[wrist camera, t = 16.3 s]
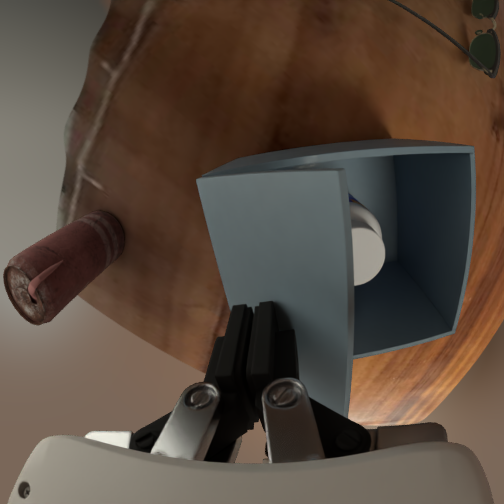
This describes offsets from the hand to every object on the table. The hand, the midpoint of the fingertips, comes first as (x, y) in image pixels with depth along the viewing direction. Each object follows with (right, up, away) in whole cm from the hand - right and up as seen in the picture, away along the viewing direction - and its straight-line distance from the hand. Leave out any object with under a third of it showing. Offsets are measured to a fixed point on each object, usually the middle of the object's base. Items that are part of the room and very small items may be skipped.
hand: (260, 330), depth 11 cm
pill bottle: (+7, +7, +14) cm, 17 cm away
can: (-17, +5, +17) cm, 25 cm away
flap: (+1, 0, 0) cm, 1 cm away
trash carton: (+7, +7, +14) cm, 17 cm away
